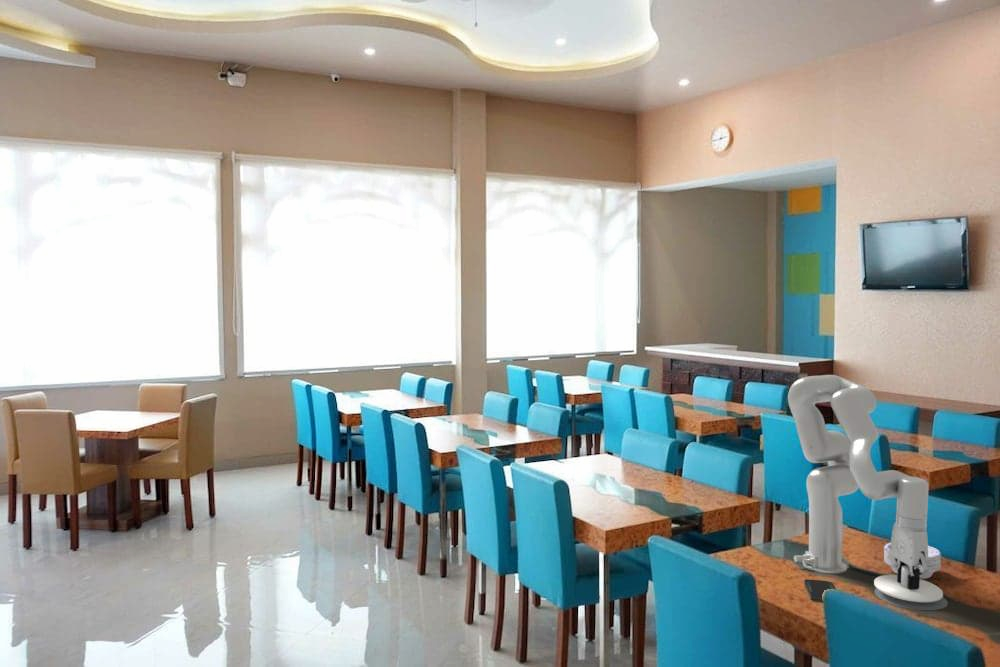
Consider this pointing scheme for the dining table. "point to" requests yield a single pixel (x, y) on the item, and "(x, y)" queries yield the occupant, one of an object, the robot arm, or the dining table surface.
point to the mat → (911, 604)
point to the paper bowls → (932, 566)
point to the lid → (900, 590)
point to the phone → (817, 588)
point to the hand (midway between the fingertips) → (908, 585)
